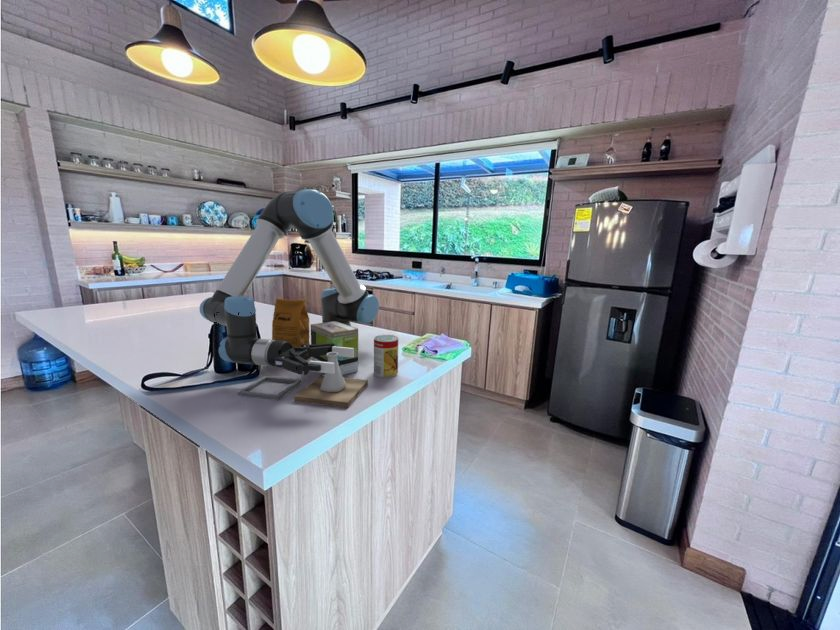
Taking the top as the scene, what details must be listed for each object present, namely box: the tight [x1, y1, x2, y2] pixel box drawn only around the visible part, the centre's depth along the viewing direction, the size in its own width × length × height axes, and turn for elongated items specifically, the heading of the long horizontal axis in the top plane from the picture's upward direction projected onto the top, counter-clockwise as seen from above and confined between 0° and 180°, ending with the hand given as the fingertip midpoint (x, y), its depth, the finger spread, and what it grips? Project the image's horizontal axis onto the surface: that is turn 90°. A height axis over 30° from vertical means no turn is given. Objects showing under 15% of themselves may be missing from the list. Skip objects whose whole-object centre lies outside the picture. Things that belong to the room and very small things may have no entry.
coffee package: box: [271, 297, 311, 348], centre depth 118 cm, size 10×12×22 cm
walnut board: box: [294, 374, 369, 409], centre depth 93 cm, size 15×15×2 cm
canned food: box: [373, 334, 399, 378], centre depth 108 cm, size 8×8×12 cm
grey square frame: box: [237, 375, 303, 401], centre depth 94 cm, size 12×12×1 cm
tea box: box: [310, 321, 359, 376], centre depth 110 cm, size 15×10×15 cm
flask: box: [320, 352, 346, 392], centre depth 92 cm, size 7×7×10 cm
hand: (344, 360), depth 90 cm, fingers open, 12 cm apart
